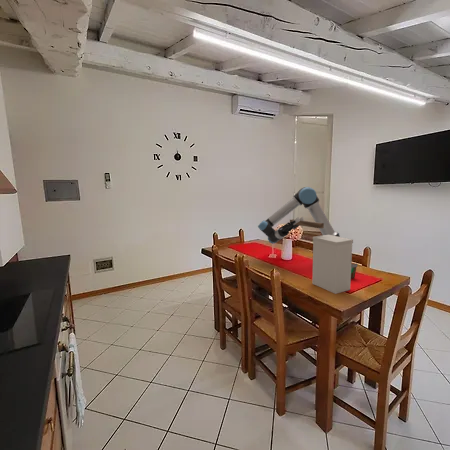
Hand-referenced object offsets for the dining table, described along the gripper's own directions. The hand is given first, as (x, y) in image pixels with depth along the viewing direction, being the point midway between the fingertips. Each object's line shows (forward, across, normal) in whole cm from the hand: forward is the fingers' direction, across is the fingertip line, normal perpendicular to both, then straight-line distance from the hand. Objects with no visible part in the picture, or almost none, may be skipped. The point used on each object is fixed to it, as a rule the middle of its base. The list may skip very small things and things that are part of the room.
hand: (301, 218), depth 178 cm
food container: (-4, -22, -43) cm, 49 cm away
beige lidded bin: (+2, -1, -47) cm, 47 cm away
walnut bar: (+2, 0, -6) cm, 6 cm away
